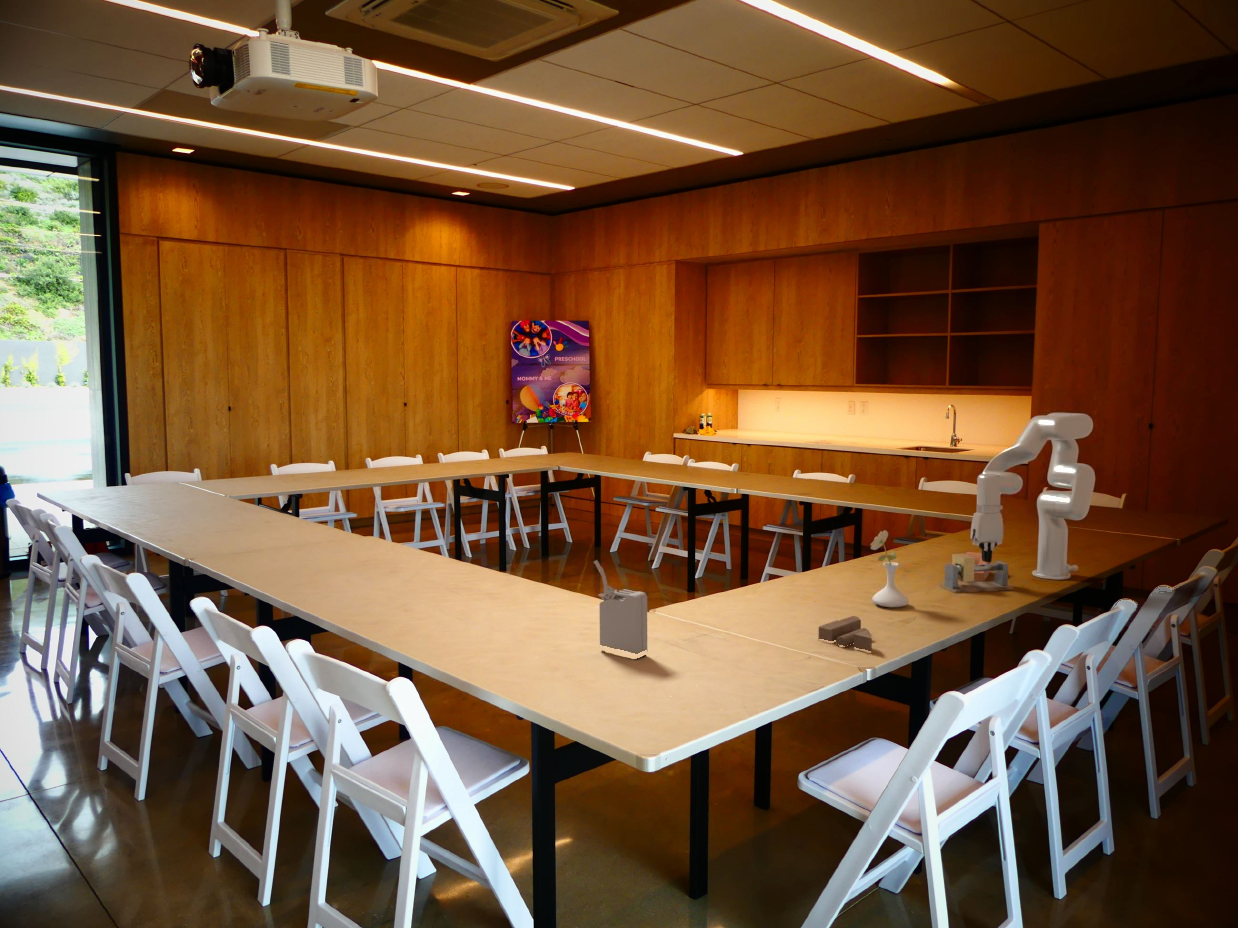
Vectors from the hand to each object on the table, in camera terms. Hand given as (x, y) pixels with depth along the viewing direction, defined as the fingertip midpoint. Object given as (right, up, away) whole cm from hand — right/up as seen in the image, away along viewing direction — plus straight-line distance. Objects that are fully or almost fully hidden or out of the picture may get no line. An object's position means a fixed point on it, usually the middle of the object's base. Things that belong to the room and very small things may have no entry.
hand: (986, 561), depth 305 cm
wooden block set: (-60, -17, -59) cm, 86 cm away
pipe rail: (-4, -9, 0) cm, 10 cm away
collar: (-9, -6, -1) cm, 11 cm away
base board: (-4, -9, 0) cm, 10 cm away
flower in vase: (-41, -12, -22) cm, 48 cm away
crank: (+3, -8, +17) cm, 19 cm away
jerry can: (-128, -18, -68) cm, 146 cm away
